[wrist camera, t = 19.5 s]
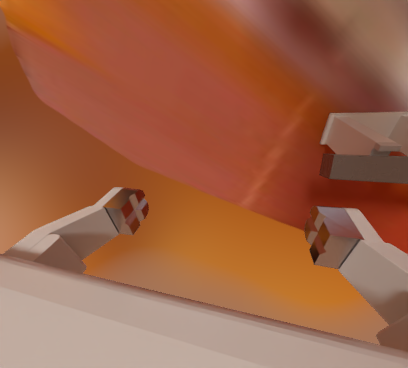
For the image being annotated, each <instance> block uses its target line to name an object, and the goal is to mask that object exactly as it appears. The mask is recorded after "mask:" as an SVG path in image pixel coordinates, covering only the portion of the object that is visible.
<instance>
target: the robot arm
mask: <svg viewBox="0 0 408 368" xmlns="http://www.w3.org/2000/svg"><path fill="white" fill-rule="evenodd" d="M144 197H145V194H144V192H143V191H142V190H139V189H131V188H121V187H115V188H113V189H112V190H111V191H110V192H109V193H107V194H106V195H105V196H104V197H103V198H102V199H100V200H99V201H98V202H97V203H96V204H95V205H94V206H89V207H87V208H84V209H82V210H80V211H77V212H75V213H73V214H70V215H68V216H66V217H63V218H61V219H59V220H56V221H54V222H52V223H49V224H47V225H44V226H42V227H40V228H38V229H35V230H34V231H32V232H31V233H30V234H28V235H27V236H26V237H25V238H23V239H22V240H21V241H19V242H18V243H17V244H15V245H14V246H13V247H11V248H10V249H9V250H8V251H6V252H5V253H4V254H0V368H408V255H407V254H406V253H404V252H402V251H401V250H399V249H398V248H396V247H395V246H393V245H391V244H390V243H384V242H383V240H382V239H381V238H380V236H379V235H378V234H377V232H376V231H375V230H374V229H373V227H372V226H371V225H370V223H369V222H368V221H367V219H366V218H365V217H364V215H363V214H362V213H361V211H360V210H358V209H354V208H337V207H325V206H313V207H312V208H311V211H310V214H311V217H310V218H309V219H307V221H306V224H305V237H306V240H307V242H309V243H310V244H311V248H310V253H311V256H312V259H313V262H314V265H320V266H325V267H331V268H335V269H339V271H340V272H341V274H343V276H344V277H345V278H346V279H347V280H348V281H349V282H350V283H351V284H352V285H353V286H354V288H355V289H356V290H357V291H358V292H359V293H360V294H361V295H362V296H363V297H364V298H365V299H366V301H367V302H368V303H369V304H370V305H371V306H372V307H373V308H374V309H375V310H376V311H377V312H378V313H379V315H380V316H381V317H382V318H383V319H384V320H385V321H386V322H387V323H388V324H389V326H387V327H386V328H384V329H383V330H381V331H380V332H378V334H377V335H376V336H377V339H378V341H379V343H380V345H378V344H374V343H370V342H366V341H361V340H357V339H353V338H349V337H345V336H340V335H337V334H332V333H328V332H324V331H320V330H316V329H312V328H307V327H303V326H299V325H295V324H291V323H287V322H282V321H278V320H274V319H270V318H266V317H262V316H258V315H253V314H249V313H245V312H241V311H237V310H232V309H228V308H224V307H220V306H216V305H212V304H208V303H203V302H199V301H195V300H191V299H187V298H183V297H178V296H174V295H170V294H166V293H162V292H157V291H153V290H149V289H145V288H141V287H137V286H132V285H128V284H124V283H120V282H116V281H112V280H107V279H103V278H99V277H95V276H91V275H87V274H83V272H84V271H85V270H86V265H85V264H84V263H83V262H82V260H83V259H84V258H86V257H87V256H89V255H90V254H91V253H93V252H94V251H96V250H97V249H98V248H100V247H101V246H103V245H104V244H106V243H107V242H108V241H110V240H111V239H113V238H114V237H115V236H117V235H118V234H119V233H121V234H129V235H134V233H135V232H136V230H137V229H138V228H139V226H140V221H141V220H143V219H145V217H146V216H147V214H148V210H149V209H148V208H149V207H148V203H147V201H146V200H144Z"/></svg>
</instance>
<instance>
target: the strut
mask: <svg viewBox="0 0 408 368" xmlns="http://www.w3.org/2000/svg"><path fill="white" fill-rule="evenodd" d="M319 175H321V176H323V177H326V178H328V179H340V180H356V181H372V182H389V183H405V184H408V156H378V155H348V154H323V158H322V164H321V169H320V174H319Z"/></svg>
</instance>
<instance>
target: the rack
mask: <svg viewBox="0 0 408 368" xmlns="http://www.w3.org/2000/svg"><path fill="white" fill-rule="evenodd" d="M320 144H327V145H328V146H329V147H330V148H331V149H332V150H333V151H334V152H335V153H336V154H348V155H378V156H389V154H390V152H391V151H400V152H401V153H403V154H405V155H407V156H408V111H407V112H360V113H330V114H329V117H328V120H327V123H326V126H325V128H324V131H323V134H322V137H321V140H320Z"/></svg>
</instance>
